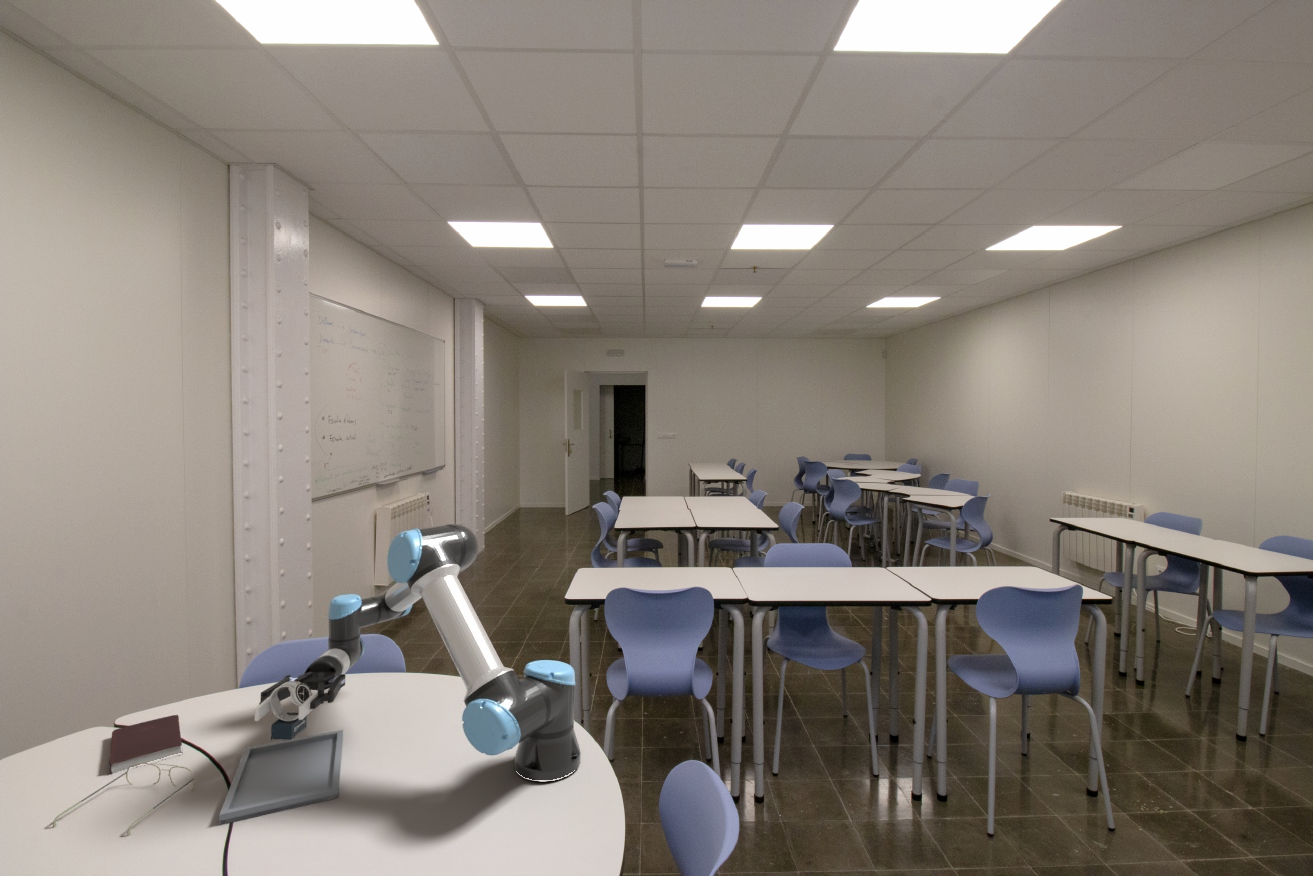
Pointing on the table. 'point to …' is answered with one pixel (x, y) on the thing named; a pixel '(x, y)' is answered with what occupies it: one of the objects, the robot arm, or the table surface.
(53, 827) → the eyeglasses
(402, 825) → the table surface
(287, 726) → the watch
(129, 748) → the book
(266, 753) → the tray
